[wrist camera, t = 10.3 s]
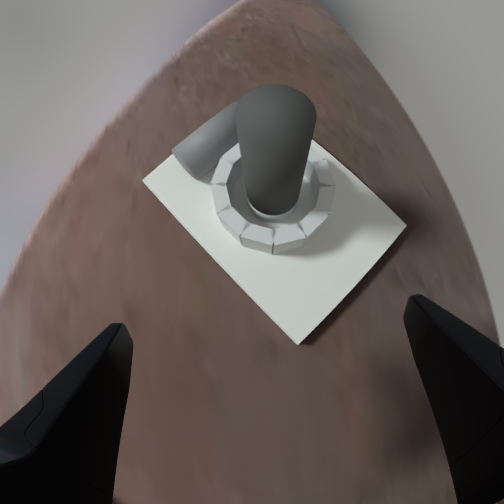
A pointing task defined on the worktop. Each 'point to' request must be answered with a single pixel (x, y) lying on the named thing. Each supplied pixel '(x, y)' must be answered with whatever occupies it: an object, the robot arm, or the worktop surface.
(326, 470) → the worktop surface
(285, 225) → the white socket base plate
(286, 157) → the crank handle
